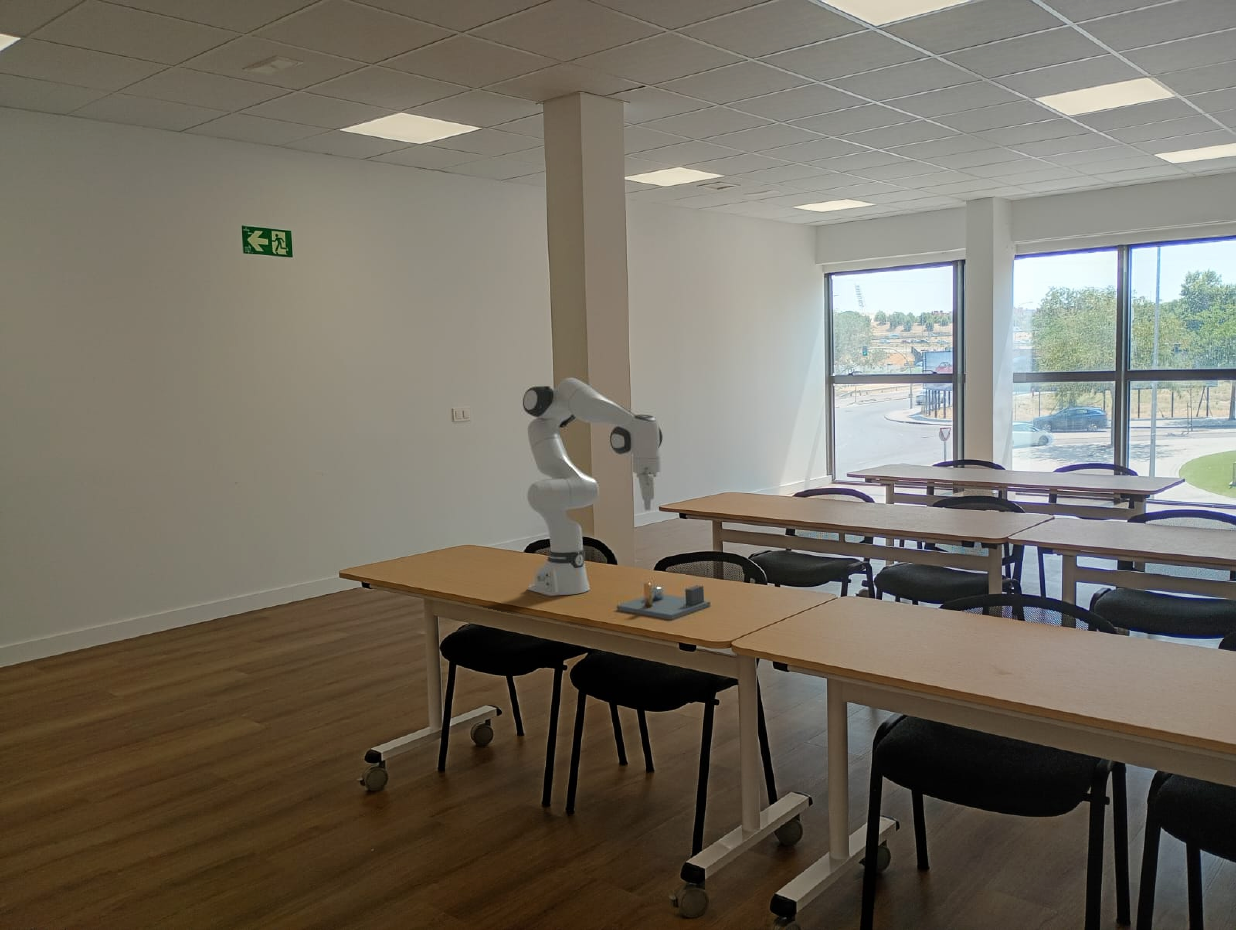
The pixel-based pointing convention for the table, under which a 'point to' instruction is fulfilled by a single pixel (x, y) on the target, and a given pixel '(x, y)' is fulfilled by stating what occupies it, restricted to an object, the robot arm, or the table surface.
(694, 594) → the stand
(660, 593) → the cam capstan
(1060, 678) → the table surface
